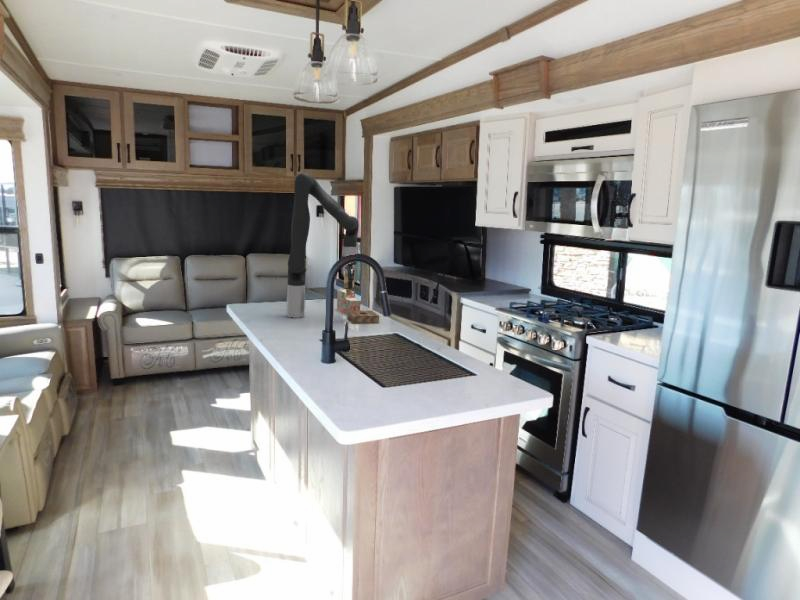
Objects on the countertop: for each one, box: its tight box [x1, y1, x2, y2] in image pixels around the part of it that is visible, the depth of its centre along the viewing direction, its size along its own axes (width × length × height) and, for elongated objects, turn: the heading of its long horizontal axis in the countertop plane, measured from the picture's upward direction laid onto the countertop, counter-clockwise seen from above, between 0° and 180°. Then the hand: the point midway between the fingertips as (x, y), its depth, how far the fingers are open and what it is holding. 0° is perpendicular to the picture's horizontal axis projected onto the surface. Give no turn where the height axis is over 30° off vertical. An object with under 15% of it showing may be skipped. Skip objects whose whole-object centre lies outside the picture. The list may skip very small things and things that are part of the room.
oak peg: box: [343, 275, 355, 295], centre depth 286 cm, size 5×5×10 cm
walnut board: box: [346, 310, 380, 325], centre depth 292 cm, size 14×14×4 cm
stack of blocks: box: [336, 288, 361, 316], centre depth 309 cm, size 21×6×12 cm, turn 25°
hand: (349, 287), depth 286 cm, fingers closed on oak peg, 5 cm apart
